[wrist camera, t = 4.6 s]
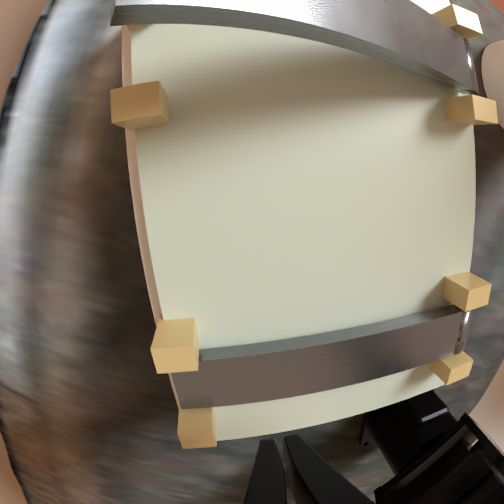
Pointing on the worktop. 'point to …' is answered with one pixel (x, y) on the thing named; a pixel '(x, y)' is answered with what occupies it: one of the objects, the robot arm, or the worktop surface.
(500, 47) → the cup
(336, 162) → the storage box
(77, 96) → the worktop surface
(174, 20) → the strap
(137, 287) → the worktop surface
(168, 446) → the worktop surface
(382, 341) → the strap
